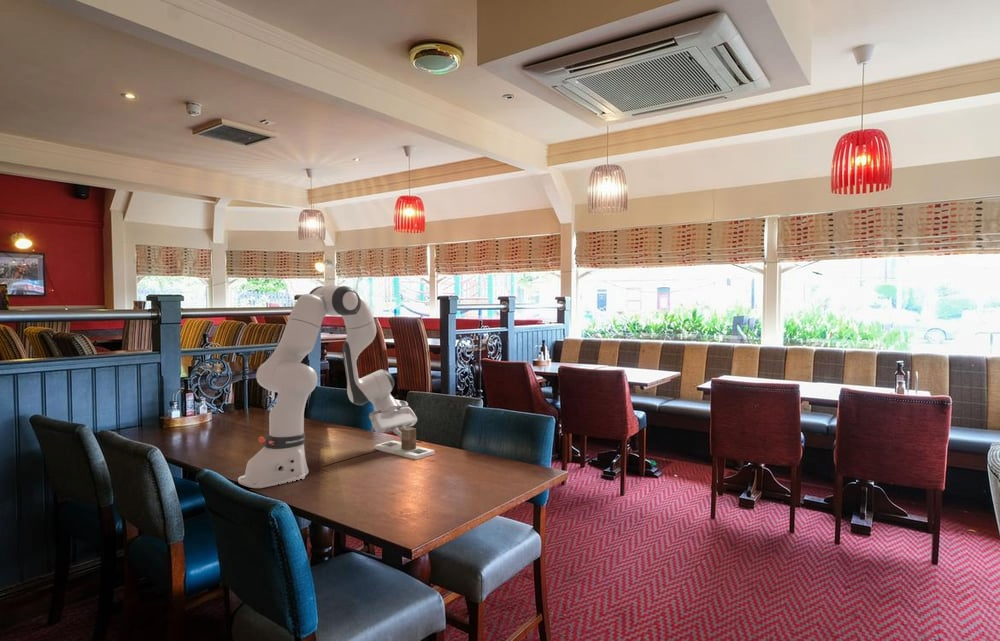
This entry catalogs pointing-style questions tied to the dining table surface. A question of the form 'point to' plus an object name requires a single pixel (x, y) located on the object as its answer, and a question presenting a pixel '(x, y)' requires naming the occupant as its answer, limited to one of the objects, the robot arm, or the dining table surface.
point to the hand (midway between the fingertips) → (404, 436)
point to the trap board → (396, 449)
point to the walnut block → (408, 438)
